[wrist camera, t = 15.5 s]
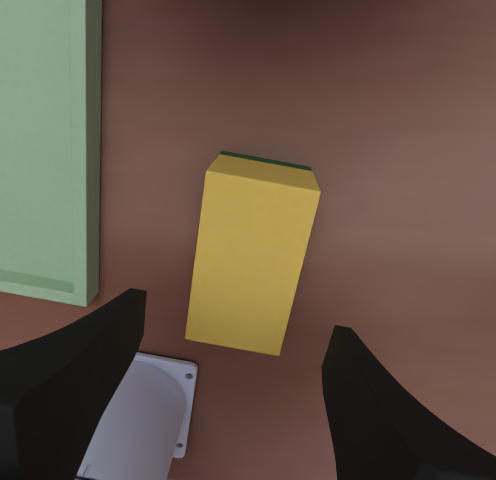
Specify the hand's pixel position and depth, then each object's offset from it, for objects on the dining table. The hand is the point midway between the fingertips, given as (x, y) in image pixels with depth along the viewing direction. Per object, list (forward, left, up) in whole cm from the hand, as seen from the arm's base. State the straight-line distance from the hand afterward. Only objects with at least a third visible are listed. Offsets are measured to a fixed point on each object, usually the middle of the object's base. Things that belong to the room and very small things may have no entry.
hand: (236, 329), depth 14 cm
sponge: (0, 0, -9) cm, 9 cm away
